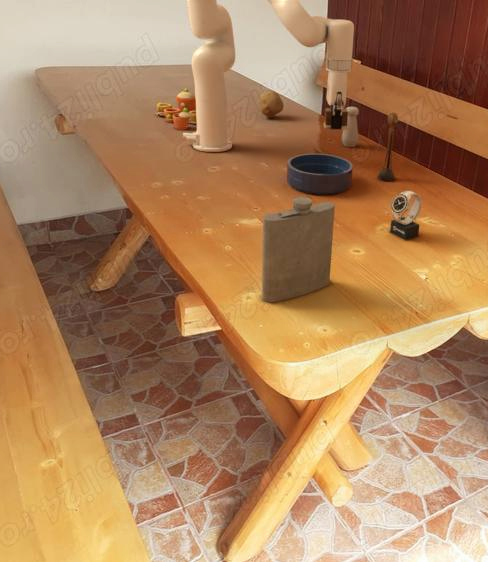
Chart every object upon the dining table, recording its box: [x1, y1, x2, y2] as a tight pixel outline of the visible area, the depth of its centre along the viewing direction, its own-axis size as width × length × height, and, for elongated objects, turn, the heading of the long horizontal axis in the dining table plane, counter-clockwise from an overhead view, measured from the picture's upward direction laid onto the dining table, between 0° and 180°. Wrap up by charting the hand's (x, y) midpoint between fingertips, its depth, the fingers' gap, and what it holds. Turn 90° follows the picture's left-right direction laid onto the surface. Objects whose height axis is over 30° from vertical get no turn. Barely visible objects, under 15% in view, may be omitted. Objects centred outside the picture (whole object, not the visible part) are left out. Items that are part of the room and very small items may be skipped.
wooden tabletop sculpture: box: [377, 112, 401, 183], centre depth 188 cm, size 6×5×20 cm
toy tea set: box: [154, 87, 197, 131], centre depth 231 cm, size 26×16×10 cm, turn 30°
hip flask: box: [261, 196, 336, 303], centre depth 126 cm, size 16×4×20 cm, turn 128°
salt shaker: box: [341, 106, 360, 148], centre depth 217 cm, size 6×6×13 cm
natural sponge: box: [259, 90, 285, 119], centre depth 242 cm, size 9×9×10 cm
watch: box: [389, 190, 422, 241], centre depth 156 cm, size 6×8×11 cm
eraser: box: [323, 107, 348, 131], centre depth 196 cm, size 7×4×6 cm, turn 97°
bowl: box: [286, 153, 354, 196], centre depth 184 cm, size 19×19×6 cm
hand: (335, 126), depth 197 cm, fingers closed on eraser, 4 cm apart
